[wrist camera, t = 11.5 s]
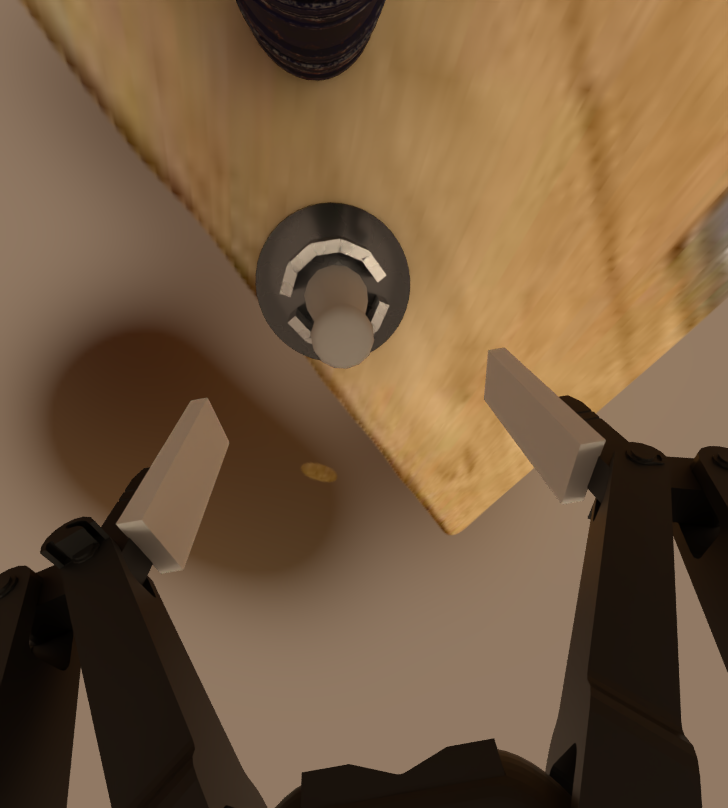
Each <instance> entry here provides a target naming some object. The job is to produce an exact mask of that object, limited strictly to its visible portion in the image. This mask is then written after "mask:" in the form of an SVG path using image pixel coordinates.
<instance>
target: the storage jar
mask: <svg viewBox="0 0 728 808" xmlns="http://www.w3.org/2000/svg"><path fill="white" fill-rule="evenodd" d="M236 2H237V4H238V6H239V9H240V11H241V13H242V15H243V17H244V19H245V20H246V22H247V24H248V25H249V27H250V29H251V31H252V33H253V34H254V36H255V38H256V39H257V41H258V43H259V44H260V46H261V47H262V48H263V49H264V51H265V52H266V53H267V55H268V56H269V57H270V58H271V59H272V60H273V61H274V62H275V63H276V64H277V65H279V66H280V67H281V68H283V69H284V70H285V71H287V72H289V73H291V74H293V75H295V76H297V77H299V78H303V79H307V80H318V81H319V80H325V79H330V78H332V77H335V76H337V75H339V74H341V73H342V72H344V71H345V70H347V69H348V68H349V67H350V66H351V65H352V64H353V63H354V62H355V61H356V60H357V58H358V57H359V56H360V54H361V53H362V52H363V50H364V48H365V46H366V44H367V43H368V41H369V38H370V36H371V34H372V32H373V30H374V28H375V26H376V23H377V21H378V18H379V16H380V14H381V11H382V8H383V6H384V3H385V0H236Z"/></svg>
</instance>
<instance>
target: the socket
mask: <svg viewBox="0 0 728 808" xmlns="http://www.w3.org/2000/svg"><path fill="white" fill-rule="evenodd" d="M330 265H338V266H347V267H348V268H350V269H351V270H353V271H354V272H356V273H357V274H359V275H360V277H361V279H362V280H363V282H364V284H365V285H366V287H367V296H368V304H367V309H366V313H365V315H366V316H367V318H368V319H369V321H370V323H371V324H372V326H373V337H374V342H373V346H372V348H371V351H370V352H372V351H374V350H375V349H377V348H378V347H380V346H381V345H382V344H383V343H384V342H386V341H387V340H388V339H389V337H390V336H391V335H392V334H393V333H394V331H395V330H396V329H397V327H398V326H399V324H400V322H401V320H402V318H403V316H404V313H405V311H406V308H407V304H408V300H409V293H410V275H409V268H408V264H407V260H406V257H405V255H404V252H403V250H402V248H401V246H400V244H399V242H398V240H397V239H396V238H395V236H394V235H393V233H392V232H391V231H390V230H389V229H388V228H387V227H386V226H385V225H384V224H383V223H382V222H381V221H380V220H378V219H377V218H376V217H374V216H373V215H371V214H369V213H368V212H366V211H364V210H362V209H359V208H357V207H354V206H351V205H347V204H342V203H320V204H315V205H311V206H307V207H305V208H303V209H300V210H298V211H296V212H295V213H293V214H291V215H290V216H288V217H287V218H286V219H284V220H283V221H282V222H281V223H280V224H279V225H278V226H277V227H276V228H275V229H274V230H273V232H272V233H271V234H270V236H269V237H268V239H267V240H266V242H265V244H264V246H263V248H262V251H261V253H260V256H259V260H258V263H257V270H256V291H257V297H258V301H259V305H260V308H261V310H262V313H263V315H264V317H265V319H266V321H267V323H268V324H269V326H270V327H271V329H272V330H273V331H274V333H275V334H276V335H277V336H278V337H279V338H280V339H281V340H282V341H283V342H284V343H285V344H287V345H288V346H289V347H291V348H292V349H294V350H295V351H297V352H299V353H301V354H303V355H305V356H308V357H310V358H313V359H317V360H321V359H320V358H319V357H318V355H317V354H316V353H315V351H314V349H313V345H312V340H311V331H312V328H313V324H314V320H313V319H312V317H311V315H310V314H309V312H308V310H307V306H306V302H305V297H304V294H305V291H306V287H307V284H308V281H309V280H310V279H311V278H312V276H313V275H314V274H315V273H316V272H317V270H319V269H322V268H325V267H328V266H330Z"/></svg>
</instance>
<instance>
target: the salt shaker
mask: <svg viewBox="0 0 728 808" xmlns="http://www.w3.org/2000/svg"><path fill="white" fill-rule="evenodd" d="M304 297H305V302H306V306H307V310H308V312H309V314H310V315H311V317H312V319H313V320H314V324H313V328H312V331H311V340H312V345H313V349H314V351H315V353H316V354H317V355H318V357H319V358H320V359H321V361H322V362H324V363H326V364H328V365H330V366H332V367H334V368H350V367H353V366H355V365H358V364H360V363H361V362H362V361H363V360H364V359H365V358H366V357H368V356H369V354H370V351H371V348H372V346H373V342H374V337H373V326H372V324H371V323H370V321H369V319H368V318H367V316H366V315H365V313H366V309H367V304H368V296H367V287H366V285H365V284H364V282H363V280H362V279H361V277H360V275H359V274H357V273H356V272H354V271H353V270H351V269H350V268H348V267H347V266H338V265H330V266H328V267H325V268H322V269H319V270H317V272H316V273H315V274H314V275H313V276H312V278H311V279H310V280H309V281H308V284H307V287H306V291H305V294H304Z"/></svg>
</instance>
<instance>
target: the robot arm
mask: <svg viewBox="0 0 728 808" xmlns="http://www.w3.org/2000/svg"><path fill="white" fill-rule="evenodd" d="M484 400H485V401H486V403H487V404H488V405H489V407H490V408H491V409H492V411H493V412H494V413H495V415H496V416H497V418H498V419H499V420H500V422H501V423H502V424H503V426H504V427H505V428H506V430H507V431H508V432H509V434H510V435H511V437H512V438H513V439H514V441H515V442H516V443H517V445H518V446H519V447H520V449H521V450H522V451H523V453H524V454H525V456H526V457H527V458H528V460H529V461H530V462H531V464H532V465H533V466H534V468H535V469H536V470H537V472H538V473H539V474H540V476H541V477H542V478H543V480H544V481H545V482H546V484H547V485H548V487H549V488H550V489H551V491H552V492H553V493H554V495H555V496H556V497H557V499H558V500H559V502H560V503H561V504H567V503H572V502H578V501H583V500H584V497H585V495H586V492H587V490H588V489H589V490H590V491H591V493H592V494H593V495H594V496H595V497H596V498H595V501H594V504H593V506H592V509H591V511H590V514H589V516H588V519H591V521H590V527H589V533H588V539H587V545H586V551H585V557H584V564H583V569H582V575H581V581H580V588H579V593H578V600H577V606H576V612H575V618H574V624H573V630H572V636H571V643H570V649H569V654H568V660H567V666H566V672H565V679H564V685H563V691H562V697H561V704H560V709H559V714H558V719H557V723H556V726H555V729H554V732H553V736H552V740H551V744H550V749H549V754H548V759H547V765H546V771H545V772H544V771H543V770H542V769H540V768H539V767H537V766H536V765H534V764H533V763H531V762H529V761H527V760H526V759H524V758H522V757H520V756H518V755H515V754H512V753H510V752H507V751H503V750H499V749H497V746H496V743H495V740H494V739H488V740H482V741H477V742H471V743H466V744H460V745H454V746H449V747H446V748H444V749H443V750H441V751H439V752H438V753H437V754H435V755H433V756H432V757H430V758H428V759H426V760H425V761H423V762H422V763H420V764H418V765H417V766H415V767H413V768H412V769H410V770H409V771H407V772H405V773H403V774H392V773H387V772H383V771H378V770H374V769H369V768H364V767H360V766H355V765H350V764H347V765H342V766H337V767H331V768H325V769H319V770H314V771H308V772H302V782H301V786H299V787H298V788H296V789H295V790H294V791H292V792H291V793H290V794H289V795H287V796H286V797H285V798H284V799H283V800H282V801H281V802H280V803H279V804H278V805H277V806H276V807H275V808H702V800H701V784H700V774H699V766H698V760H697V756H696V753H695V750H694V747H693V745H692V744H691V743H690V742H689V740H688V739H687V738H686V737H685V735H684V733H683V730H682V723H681V707H680V685H679V662H678V638H677V615H676V593H675V570H674V548H673V536H674V539H675V541H676V544H677V546H678V549H679V551H680V554H681V556H682V559H683V561H684V564H685V566H686V569H687V571H688V574H689V576H690V579H691V581H692V584H693V586H694V589H695V591H696V594H697V596H698V599H699V601H700V604H701V606H702V609H703V611H704V614H705V616H706V619H707V621H708V624H709V627H710V629H711V632H712V634H713V637H714V639H715V642H716V644H717V647H718V649H719V652H720V654H721V657H722V659H723V662H724V664H725V667H726V669H727V672H728V448H724V447H718V446H708V447H704V448H701V450H700V451H699V452H698V453H697V455H696V457H695V458H679V457H666V456H665V455H664V454H663V453H662V452H661V451H659V450H657V449H655V448H654V447H651V446H648V445H645V444H642V443H636V442H628V441H627V440H626V439H625V438H624V437H622V436H621V435H620V434H619V433H618V432H617V431H615V430H614V429H613V428H612V427H611V426H609V425H608V424H607V423H606V422H605V421H603V420H602V419H600V418H599V416H598V415H597V414H595V413H594V412H591V409H590V408H588V407H587V406H586V405H585V404H584V403H582V402H581V401H579V400H577V399H575V398H573V397H570V396H568V395H566V396H561V397H558V396H557V395H556V394H555V393H554V392H553V391H552V390H550V389H549V388H548V387H547V386H546V385H545V384H544V383H543V382H542V381H541V380H540V379H538V378H537V377H536V376H535V375H534V374H533V373H532V372H531V371H530V370H529V369H527V368H526V367H525V366H524V365H523V364H522V363H521V362H520V361H519V360H518V359H517V358H515V357H514V356H513V355H512V354H511V353H510V352H509V351H508V350H507V349H506V348H499V349H493V350H488V360H487V371H486V383H485V394H484ZM228 445H229V441H228V439H227V437H226V435H225V432H224V430H223V428H222V426H221V424H220V423H219V420H218V418H217V416H216V414H215V412H214V410H213V408H212V406H211V404H210V402H209V400H208V398H203V399H197V400H192V401H190V403H189V405H188V406H187V408H186V410H185V412H184V413H183V415H182V416H181V418H180V420H179V421H178V423H177V424H176V426H175V428H174V429H173V431H172V433H171V434H170V436H169V438H168V439H167V441H166V443H165V444H164V446H163V447H162V449H161V451H160V452H159V454H158V456H157V457H156V459H155V461H154V462H153V464H152V466H151V467H149V468H144V469H143V470H141V471H140V473H138V474H137V475H136V476H135V477H134V478H133V479H132V480H131V482H130V484H129V485H128V486H127V488H126V489H125V492H124V493H123V494H122V496H121V497H120V499H119V502H117V503H116V505H115V506H114V508H113V510H112V511H111V513H110V514H109V516H108V517H107V519H106V520H105V522H104V523H103V525H102V527H100V526H99V525H98V524H97V523H96V522H95V521H94V520H93V519H92V518H91V517H81V518H77V519H74V520H72V521H69V522H67V523H65V524H64V525H62V526H61V527H59V528H58V529H57V530H55V531H54V532H53V533H52V534H51V535H50V536H49V537H48V538H47V539H46V540H45V542H44V543H43V545H42V547H41V551H40V553H41V554H42V555H43V556H44V557H46V558H47V559H48V560H49V561H50V562H52V563H53V564H54V566H51V567H49V568H47V569H44V570H42V571H40V572H37V573H35V572H34V571H33V570H31V569H30V568H28V567H27V566H17V567H14V568H11V569H8V570H7V571H5V572H3V573H1V574H0V808H67V797H68V788H69V777H70V768H71V758H72V748H73V738H74V728H75V719H76V709H77V699H78V688H79V679H80V669H82V674H83V678H84V683H85V687H86V692H87V697H88V701H89V705H90V710H91V715H92V720H93V724H94V729H95V733H96V738H97V742H98V747H99V752H100V756H101V761H102V766H103V770H104V775H105V779H106V784H107V789H108V793H109V798H110V802H111V807H112V808H267V806H266V804H265V802H264V800H263V798H262V797H261V795H260V793H259V792H258V790H257V789H256V787H255V786H254V785H253V783H252V782H251V781H250V779H249V778H248V777H247V775H246V774H245V772H244V770H243V768H242V766H241V764H240V762H239V760H238V758H237V756H236V754H235V752H234V750H233V748H232V746H231V743H230V741H229V739H228V737H227V735H226V733H225V731H224V729H223V727H222V725H221V723H220V720H219V718H218V716H217V714H216V712H215V710H214V708H213V706H212V704H211V702H210V700H209V698H208V695H207V694H206V691H205V689H204V687H203V685H202V683H201V681H200V679H199V677H198V675H197V673H196V671H195V669H194V666H193V664H192V662H191V660H190V658H189V656H188V654H187V652H186V650H185V648H184V645H183V643H182V641H181V639H180V637H179V635H178V633H177V631H176V629H175V627H174V625H173V623H172V620H171V619H170V616H169V615H168V612H167V610H166V608H165V606H164V604H163V602H162V600H161V598H160V595H159V594H158V592H157V589H156V587H155V585H154V583H153V581H152V580H151V579H150V578H149V577H148V576H147V575H148V573H149V571H150V569H151V566H152V564H153V565H154V566H155V568H156V569H157V570H158V571H159V572H160V573H161V574H162V573H167V572H173V571H179V570H183V569H184V566H185V564H186V561H187V558H188V555H189V553H190V550H191V547H192V544H193V542H194V539H195V536H196V533H197V530H198V528H199V525H200V522H201V519H202V517H203V514H204V511H205V509H206V506H207V503H208V500H209V498H210V495H211V492H212V489H213V486H214V484H215V481H216V478H217V476H218V473H219V470H220V467H221V464H222V461H223V459H224V456H225V453H226V451H227V448H228Z"/></svg>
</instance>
